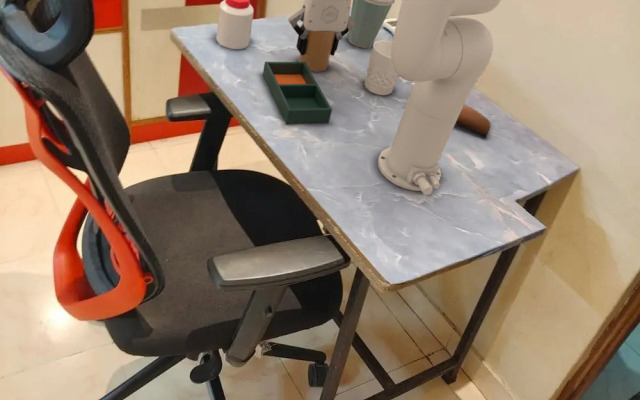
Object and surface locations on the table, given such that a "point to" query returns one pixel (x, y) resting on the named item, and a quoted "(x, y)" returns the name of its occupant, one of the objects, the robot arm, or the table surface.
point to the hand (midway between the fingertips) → (315, 51)
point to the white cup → (381, 69)
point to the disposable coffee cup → (367, 20)
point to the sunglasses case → (473, 120)
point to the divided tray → (296, 93)
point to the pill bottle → (234, 23)
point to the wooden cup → (318, 50)
